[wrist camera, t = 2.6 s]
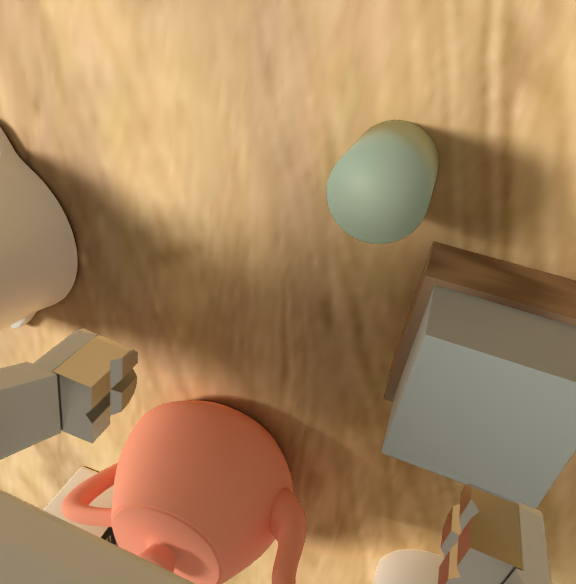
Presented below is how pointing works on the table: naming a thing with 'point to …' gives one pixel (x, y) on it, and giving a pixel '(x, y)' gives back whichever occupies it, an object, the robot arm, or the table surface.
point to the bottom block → (483, 293)
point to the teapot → (198, 494)
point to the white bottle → (101, 501)
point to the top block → (487, 397)
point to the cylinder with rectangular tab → (408, 567)
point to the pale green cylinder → (384, 182)
